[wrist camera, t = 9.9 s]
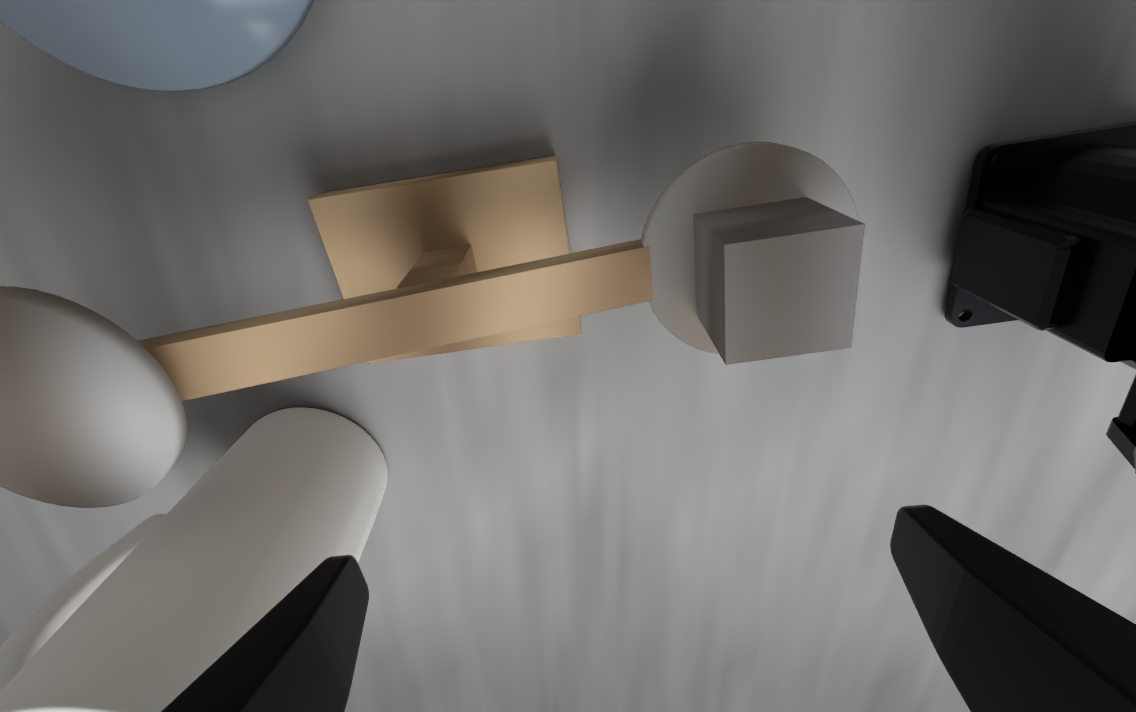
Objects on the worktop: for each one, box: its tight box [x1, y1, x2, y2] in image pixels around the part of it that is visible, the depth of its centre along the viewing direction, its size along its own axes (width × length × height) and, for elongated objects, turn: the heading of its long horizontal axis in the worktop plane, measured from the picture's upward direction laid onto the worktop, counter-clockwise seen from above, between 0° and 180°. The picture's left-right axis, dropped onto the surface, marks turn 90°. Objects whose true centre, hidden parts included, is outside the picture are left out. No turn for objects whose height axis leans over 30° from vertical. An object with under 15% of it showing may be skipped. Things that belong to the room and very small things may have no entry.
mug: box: [0, 407, 388, 712], centre depth 18 cm, size 10×7×12 cm, turn 95°
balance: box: [0, 142, 865, 508], centre depth 16 cm, size 24×6×8 cm, turn 98°
